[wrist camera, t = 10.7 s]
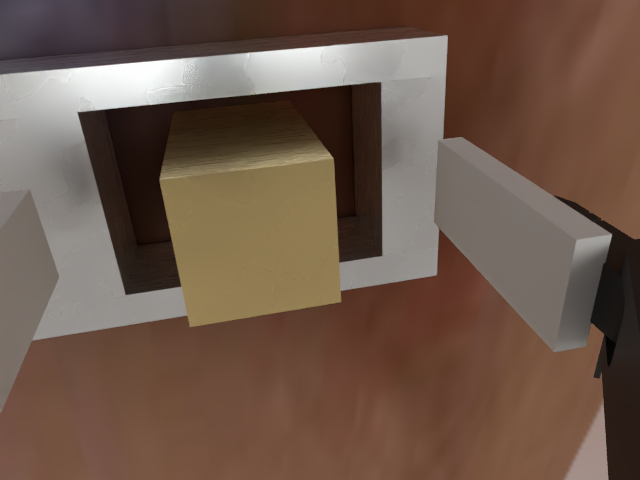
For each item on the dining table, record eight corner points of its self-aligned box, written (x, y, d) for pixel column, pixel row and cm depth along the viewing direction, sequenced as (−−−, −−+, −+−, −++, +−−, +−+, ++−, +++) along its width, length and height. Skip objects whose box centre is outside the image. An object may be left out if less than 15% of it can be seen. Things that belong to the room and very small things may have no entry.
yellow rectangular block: (173, 111, 20) (159, 180, 13) (288, 99, 21) (334, 158, 14) (192, 218, 22) (189, 327, 15) (297, 204, 23) (341, 302, 16)
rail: (-459, 98, 16) (-640, 130, 13) (405, 26, 21) (447, 35, 17) (-291, 335, 20) (-394, 409, 17) (402, 233, 25) (436, 275, 21)
